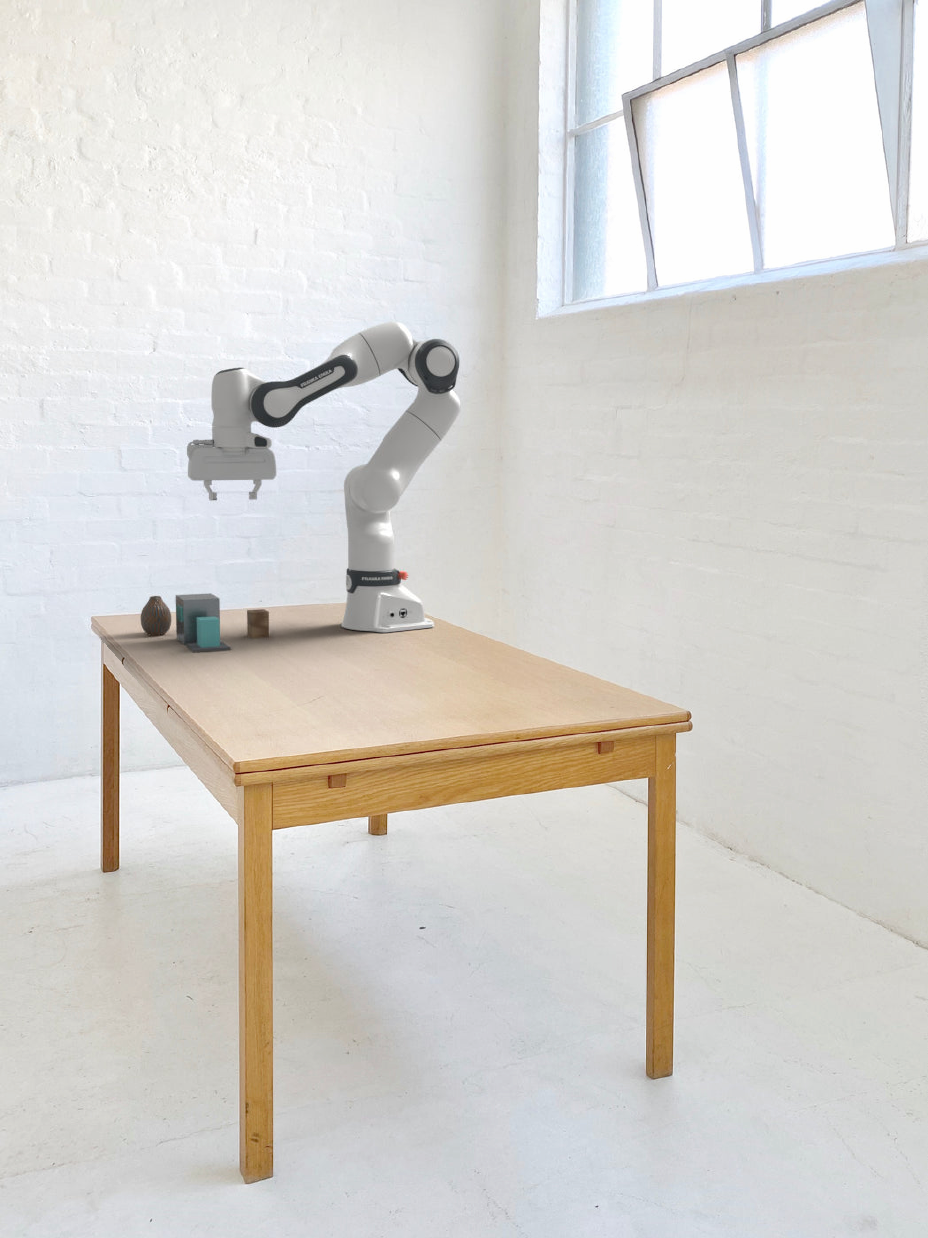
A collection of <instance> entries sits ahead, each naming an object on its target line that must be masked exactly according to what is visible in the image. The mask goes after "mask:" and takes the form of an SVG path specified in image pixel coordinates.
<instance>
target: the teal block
mask: <svg viewBox="0 0 928 1238" xmlns="http://www.w3.org/2000/svg"><path fill="white" fill-rule="evenodd" d="M220 642H221V625H220V626H219V619H218V618H217V617H215V616H214V617H197V645H199V646H200V647H201V648H205V647H220Z"/></svg>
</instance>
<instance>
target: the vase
mask: <svg viewBox="0 0 928 1238" xmlns="http://www.w3.org/2000/svg"><path fill="white" fill-rule="evenodd" d="M140 625H141V628H142V629H143V631H144V632H145V633H146V634H147V635H148V636H164V635H166V633H168V632H169V630H170V628H171V625H172V612H171V610H170V608H169V607H168V605H167V604H166V603H165V602H164V600H163V599H162V596H160V595H152V596H150V597H149V599H148V601H147V602H146V603H145V605H144V606H143V607H142V610H141V612H140Z"/></svg>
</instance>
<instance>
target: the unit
mask: <svg viewBox="0 0 928 1238" xmlns="http://www.w3.org/2000/svg"><path fill="white" fill-rule="evenodd" d="M220 599H221V598H219V597H218V596H216V595H214V594H213V593H192V594H191V593H190V594H175V622H176V623H175V624H176V625H175V626H176V627H175V630H176V634H175V635H176V639H177V641H178V642H180V643H181V644H183V646H185V645H186V644H192V643H197V617H214V616H215V617H217V618H218V619H219V626H220V627H221V620H220V619H221V614H220V613H221V609H220V607H221V606H220V605H221V604H220V603H221V602H220ZM186 646H187V645H186Z"/></svg>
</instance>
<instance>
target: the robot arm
mask: <svg viewBox="0 0 928 1238" xmlns="http://www.w3.org/2000/svg"><path fill="white" fill-rule="evenodd" d="M459 369H460V356H459V353H458V351H457V349H456V348H455V347H454V345H452V344H451V343H450V342H449V341H447V340H444V339H441V338H433V339H425V340H421V341H420V340H419V341H418V340H415V338H413V337H412V334H411V332H410V331H409V329H408V327H406V325H404V324H403V323H401V322H399V321H397V320H396V321H395V320H392V321H388V322H383V323H380V324H377V325H374V326H371V327H369V328H366V329H364V330H362V331H360V332H358V333H356V334H354V335H352V336H350V337H348V338H347V339H345V340H344V341H343V342H341V343H340V344H339V345H337V346H336V347H335V348H333V350H332V352H331V353H330V355H329V357H328V358H327V359H326V360H324V361H323V362H322V363H321V364H319V365H318V366H316V367H314V368H313V369H310V370H308V371H306V372H304V373H302V374H300V375H298V376H297V377H294V378H291V379H288V380H285V381H284V380H283V381H281V380H280V381H279V380H278V381H267V380H265V379H263V378H261V377H258V376H257V375H255V374H253V373H252V372H251V371H249V370H248V369H247V368H246V367H233V368H227V369H223V370H220V371H218V372H217V373H216V374H214V376H213V379H212V384H211V409H212V414H213V419H212V423H211V436H212V437H211V439H193V440H192V441H190V442H189V443H188V444H187V446H186V455H187V458H188V464H187V476H188V478H189V479H190V480H191V481H196V482H198V481H203V487H204V488H205V489H206V491H207V493H208V499H209V501H217V500H218V497H217V496H218V492H215V491H213V489H212V488H211V486H212V485H213V483H212V482H213V481H252V484H253V485H254V487H253V489H252V491H248V495H249V496H248V499H249V500H250V501H251V500H252V501H253V500H255V501H256V500H257V499H258V492H259V490H260V488H261V486H262V480H263V481H264V480H265V481H267V480H269V481H270V480H274V479H275V478H276V477H277V474H278V473H277V461H276V457H275V453H274V451H273V450H272V449H270V448H271V447H272V439H271V438H269V437H266V436H263V435H260V434H258V433H254V432H252V423H253V422H254V423H255V422H256V423H259V424H261V425H263V426H265V427H268V428H281V427H284V426H286V425H287V424H289V423H290V422H291V421H292V420H293V419H294V418H295V416H296V415H297V414H298V413H299V412H300V410H301V409H302V408H303V407H304V406H307V405H308V404H310V403H312V402H314V401H315V400H317V399H319V398H321V397H324V396H325V395H327V394H329V393H331V392H333V391H335V390H338V389H342V388H349V387H355V386H359V385H363V384H366V383H367V382H370V381H373V380H375V379H377V378H379V377H381V376H383V375H385V374H387V373H390V372H391V371H393V370H398V371H399V373H400V374H401V375H402V376H403V377H404V379H406V380H407V381H408V382H409V383H410V384H412V386H415V387H417V388H418V389H417V394H416V396H415V398H414V400H413V402H412V403H411V404H410V405H409V406H408V407H407V408H406V410H405V411H404V412H403V413H402V415H401V416H400V417H399V419H397V421H396V422H395V423H394V424H393V425H392V427H391V428H390V429H389V431H387V433H386V434H385V435H384V436H383V439H382V441H381V443H380V444H379V446H378V447H377V449H376V450H375V453H374V454H373V455H372V457H371V458H370V459H369V461H368V462H367V464H366V463H365V464H359V465H356V466H355V467H353V468H352V469H351V470H350V471H349V472H348V473H347V474H346V477H345V478H344V481H343V490H344V491H343V492H344V505H345V506H344V507H345V518H346V527H347V539H348V540H347V541H348V544H347V545H348V548H347V549H348V552H347V553H348V555H347V556H348V557H347V559H348V560H347V562H348V563H347V564H348V568H346V575H345V588H346V593H347V595H346V604H345V609H344V614H343V617H342V618H343V619H342V621H341V625H340V626H341V627H342V628H344V629H348V630H354V631H363V632H365V631H366V632H375V633H393V632H400V631H401V632H402V631H409V630H419V629H427V628H428V629H429V628H434V627H435V623H434V621H433V620H432V619H430V618H427V617H426V614H425V607H424V604H423V602H422V600H421V598H419V597H418V596H417V595H416V594H414V593H413V592H412V591H410V590H409V589H408V588H407V587H406V586H404V585H403V584H402V583H401V582H402V580H403V581H406V580H408V578H409V573H408V572H407V571H404V570H398V569H396V568H395V534H394V531H393V524H392V515H391V514H392V513H391V509H393V508H394V507H395V506H396V505H397V504H398V503H399V501H400V498H401V496H402V495H403V494H404V493H405V491H406V490H407V488H408V486H409V485H410V484H411V481H412V480H413V478H414V477H415V475H416V473H417V472H418V470H419V469H420V467H421V466H422V464H423V463H424V462H425V461H426V460H427V458H428V457H429V456H430V455H431V453H432V452H433V451H434V450H435V449H436V447H437V446H438V445H439V444H440V443H441V441H442V440H443V439H444V438H445V436H446V435H447V434H448V432H449V431H450V429H451V428H452V426H453V424H454V423H455V421H456V419H457V417H458V416H459V414H460V412H461V407H462V404H461V400H460V399H459V397H458V395H457V394H456V392H454V390H453V389H455V387H456V384H457V378H458V373H459Z"/></svg>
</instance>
